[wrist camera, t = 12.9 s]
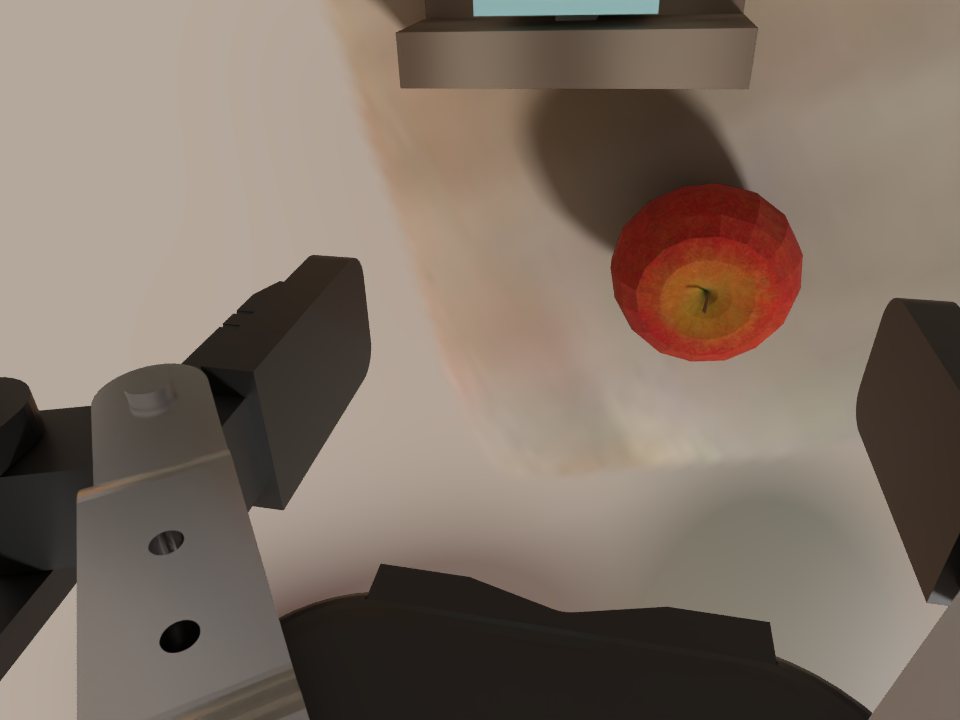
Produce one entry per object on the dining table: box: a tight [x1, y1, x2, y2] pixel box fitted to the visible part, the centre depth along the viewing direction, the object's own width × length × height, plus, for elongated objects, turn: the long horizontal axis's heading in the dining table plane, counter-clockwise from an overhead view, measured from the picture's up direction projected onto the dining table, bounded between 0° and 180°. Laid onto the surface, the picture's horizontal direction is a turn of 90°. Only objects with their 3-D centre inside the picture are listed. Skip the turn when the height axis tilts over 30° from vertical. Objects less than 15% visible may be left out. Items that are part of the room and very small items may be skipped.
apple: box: [611, 183, 803, 361], centre depth 32 cm, size 8×8×8 cm
